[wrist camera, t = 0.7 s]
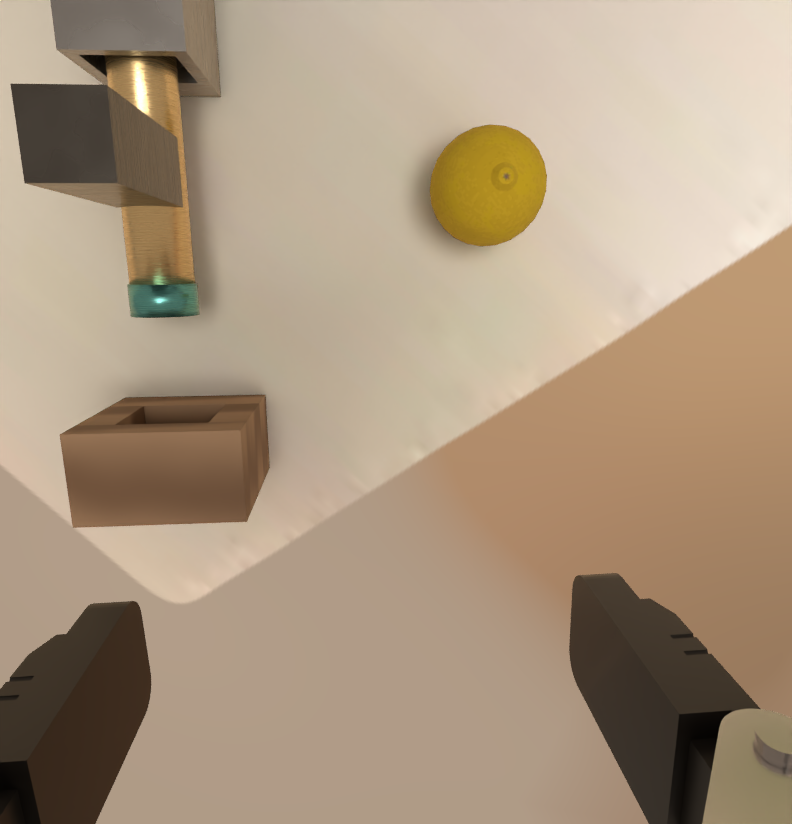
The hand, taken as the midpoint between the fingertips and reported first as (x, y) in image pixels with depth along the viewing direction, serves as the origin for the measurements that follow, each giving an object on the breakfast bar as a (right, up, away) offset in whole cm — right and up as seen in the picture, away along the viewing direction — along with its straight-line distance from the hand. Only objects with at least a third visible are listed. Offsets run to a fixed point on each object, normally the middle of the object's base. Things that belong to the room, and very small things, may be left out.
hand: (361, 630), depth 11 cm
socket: (-11, +3, +24) cm, 27 cm away
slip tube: (-11, +20, +18) cm, 29 cm away
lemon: (+5, +16, +23) cm, 28 cm away
